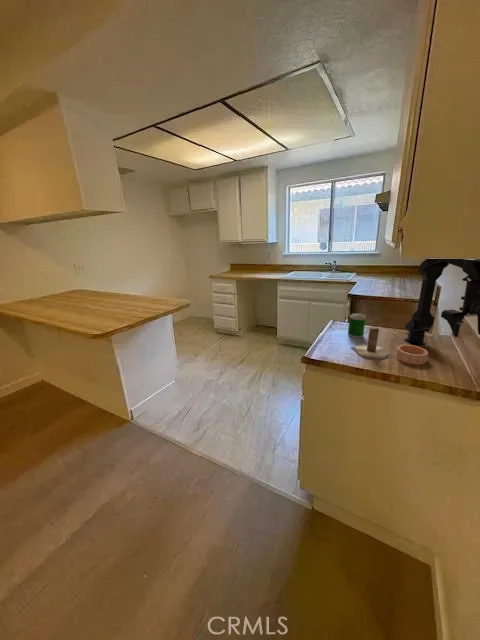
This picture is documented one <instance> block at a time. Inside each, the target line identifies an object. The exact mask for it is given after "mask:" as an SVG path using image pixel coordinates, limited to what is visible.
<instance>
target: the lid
mask: <svg viewBox="0 0 480 640" xmlns="http://www.w3.org/2000/svg"><path fill="white" fill-rule="evenodd" d="M379 332H380V328H379V327H376V326H370V327H369V331H368V339H367V344H359V345H357V346H355V347H356V348H355V351H356V352H355V351H354V352H355V353H356V354H357V355H358V354H359V356H360V355H361V356H363V357H366V358H371V359H375V360H383V358H386V357H387V354H389V353H388V351H387V350H386V349H385V348H383V347H381V346H377V345H378V339H379ZM361 356H360V357H361Z"/></svg>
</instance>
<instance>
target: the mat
mask: <svg viewBox="0 0 480 640" xmlns="http://www.w3.org/2000/svg"><path fill="white" fill-rule="evenodd" d="M356 347H357V346H353V347H349V348H350V349H351V350H352V351H353V352H355V353H356V351H355V348H356ZM357 355H359V354H357ZM359 356H360V357H361V358H362V359H363V360H365V361H373V360H375V361H376V359H371V358H366V357H363V356H361V355H359ZM383 359H395V357H394V356H392V355H391V354H390V353H388V354H387V357H386V358H383ZM383 359H382V360H383Z"/></svg>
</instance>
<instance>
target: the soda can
mask: <svg viewBox="0 0 480 640" xmlns="http://www.w3.org/2000/svg"><path fill="white" fill-rule="evenodd" d="M366 318H367V317H366V316H365V314H364V313H361V312H353V313H351V314H350V316H349V320H348V330H347V335H348V336H349V337H352V338H355V339H360V338H363V337H364V334H365V326H366Z"/></svg>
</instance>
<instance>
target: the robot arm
mask: <svg viewBox="0 0 480 640" xmlns="http://www.w3.org/2000/svg"><path fill="white" fill-rule="evenodd" d="M449 265H452V266H455V267H458V268H460V269H462V271H463V273H465V274H466V276H465V277H463V278H462V279H461V280H462V281H463V282H466V283H465V284H466V285H465V291H464V295H463V296H461V297H460V300H463V303H462V306H460V307H459V309H458V310H456V309H445V310H442V312H441V315H440V318H442V319H444V320H445V321H446V322H447V323H448V325H449V327H450V329H451V332H452V335H453V336H454V337H455V338H458V336H459V335H460V329H461V325H462V324H463V323H464V322H465V321H464V319H465V317H476V316H477V333H478V335H479V336H480V259H427V258H426V259H424V260H423V261H422V262H421V263H420V265H419V275H420V277H421V279H422V282H421V288H420V293H419V299H418V304H417V309H416V311H415V312H414V313H413V314H412V315H411V319H410V320H409V321H408V322H407V323H406V324H405V330H406V331H408V333H407V334H408V335H407V338H404V342H407V343H409V344H410V345H415V346H418V345H426V342H424V341H425V340H424V339H425V335H426V333H429V332H430V330H431V329H432V327H433V326H434V321H435V316H433V315H432V313H431V309H432V304H433V299H434V293H435V287H436V282H437V281H438V279H439V278H440V277H441V276H442V275H443V273H444V272H443V271H444V269H446V268H447V267H448V266H449Z"/></svg>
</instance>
